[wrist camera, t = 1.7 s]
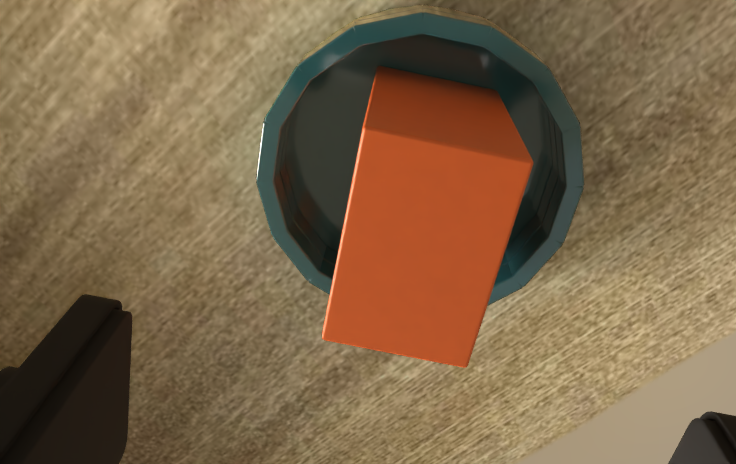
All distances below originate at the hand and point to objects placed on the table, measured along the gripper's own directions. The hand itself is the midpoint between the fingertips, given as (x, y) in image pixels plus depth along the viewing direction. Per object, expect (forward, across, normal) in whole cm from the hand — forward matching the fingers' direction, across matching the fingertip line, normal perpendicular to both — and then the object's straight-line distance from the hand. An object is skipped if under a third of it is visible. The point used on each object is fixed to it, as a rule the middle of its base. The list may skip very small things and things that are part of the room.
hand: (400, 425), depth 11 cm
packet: (+13, -1, 0) cm, 13 cm away
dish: (+13, -1, 0) cm, 13 cm away
